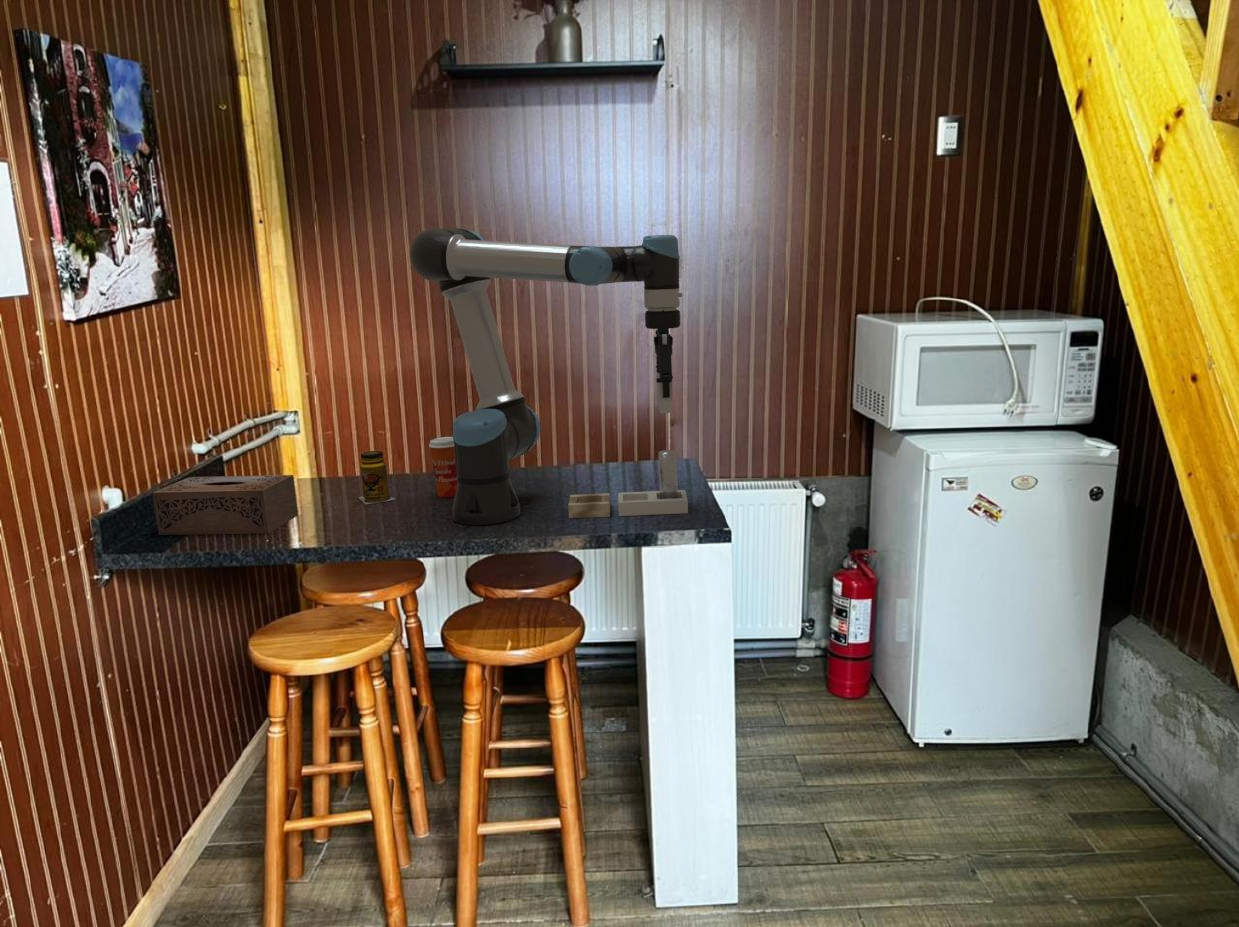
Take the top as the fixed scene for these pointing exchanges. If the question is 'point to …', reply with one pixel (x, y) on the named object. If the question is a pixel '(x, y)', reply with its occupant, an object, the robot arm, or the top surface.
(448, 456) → the paper cup
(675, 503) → the rack
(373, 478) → the condiment
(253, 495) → the tissue box cover
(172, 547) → the top surface
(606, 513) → the socket block
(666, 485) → the grey peg
